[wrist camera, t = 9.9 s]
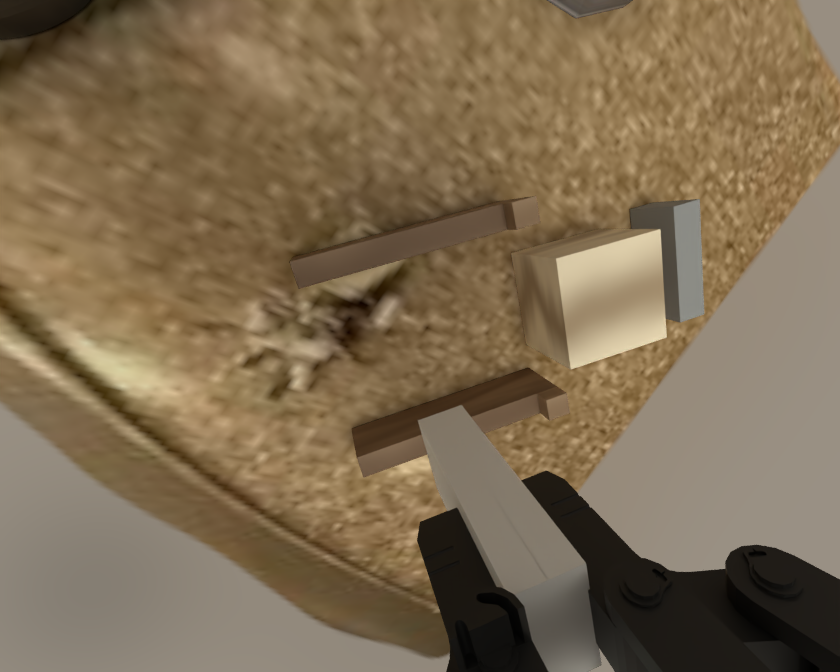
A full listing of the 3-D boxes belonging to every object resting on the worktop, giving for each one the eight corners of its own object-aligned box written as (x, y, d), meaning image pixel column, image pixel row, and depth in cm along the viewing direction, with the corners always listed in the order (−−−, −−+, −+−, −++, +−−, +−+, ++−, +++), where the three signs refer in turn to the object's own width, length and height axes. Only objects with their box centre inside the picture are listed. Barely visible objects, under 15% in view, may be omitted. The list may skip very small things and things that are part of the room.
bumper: (629, 209, 31) (673, 206, 27) (653, 202, 31) (699, 199, 27) (639, 311, 33) (680, 322, 29) (660, 304, 33) (704, 314, 30)
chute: (293, 256, 26) (288, 263, 21) (498, 201, 28) (536, 195, 23) (357, 446, 30) (365, 488, 25) (531, 385, 32) (569, 413, 28)
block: (510, 252, 30) (556, 258, 24) (596, 228, 31) (660, 228, 25) (525, 344, 32) (570, 369, 26) (606, 318, 33) (666, 337, 27)
